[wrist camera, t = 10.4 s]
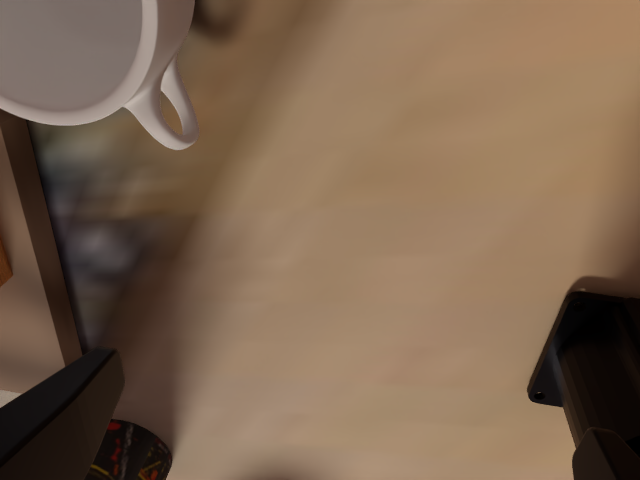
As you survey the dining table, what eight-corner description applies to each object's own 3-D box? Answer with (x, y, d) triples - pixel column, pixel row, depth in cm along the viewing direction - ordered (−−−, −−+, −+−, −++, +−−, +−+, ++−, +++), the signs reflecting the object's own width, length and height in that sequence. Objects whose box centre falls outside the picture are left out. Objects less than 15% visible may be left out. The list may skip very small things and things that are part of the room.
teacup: (-41, -80, 18) (-196, -79, 13) (110, -250, 15) (-21, -324, 10) (151, 158, 22) (83, 222, 17) (302, 61, 19) (268, 108, 14)
